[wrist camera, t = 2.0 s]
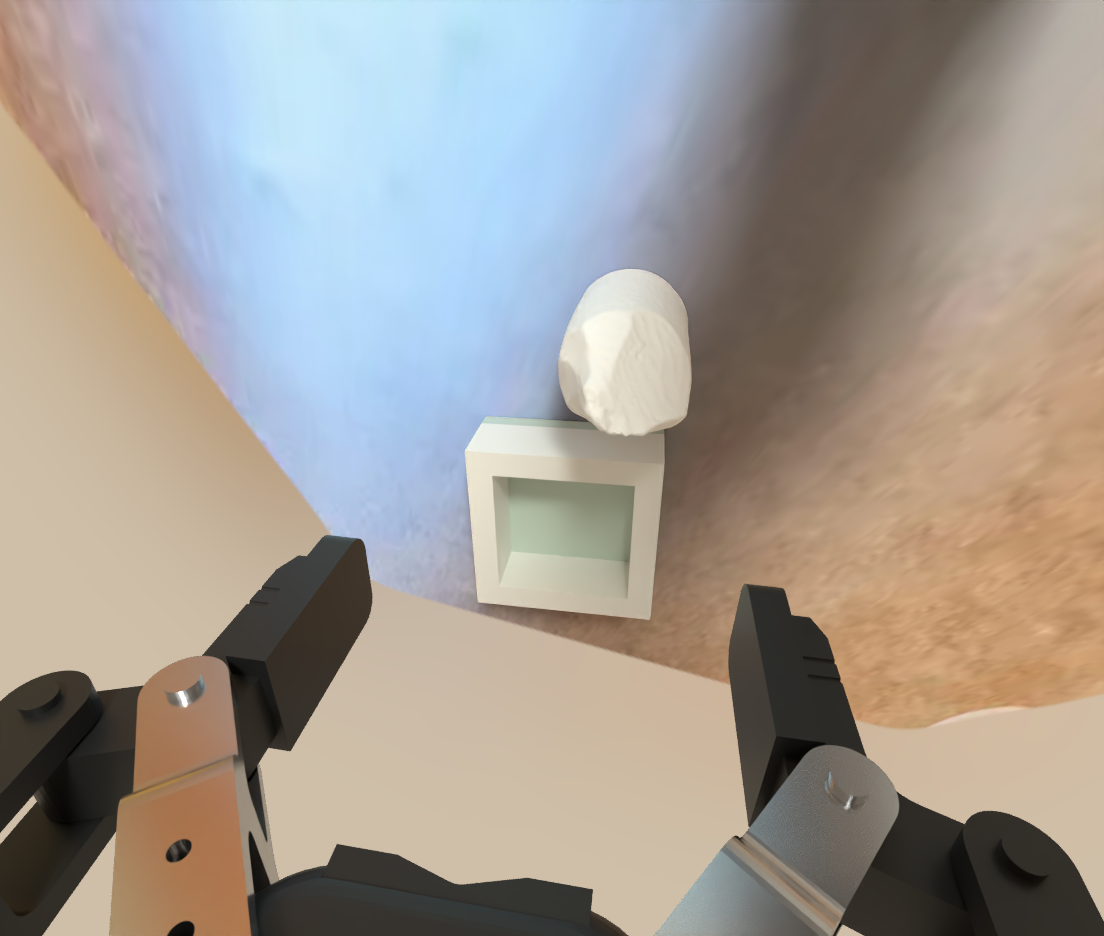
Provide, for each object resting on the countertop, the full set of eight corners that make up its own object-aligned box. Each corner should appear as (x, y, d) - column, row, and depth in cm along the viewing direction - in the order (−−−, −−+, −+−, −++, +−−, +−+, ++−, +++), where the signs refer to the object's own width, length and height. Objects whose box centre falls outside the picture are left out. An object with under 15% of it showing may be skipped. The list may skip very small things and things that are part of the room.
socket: (664, 426, 35) (664, 464, 31) (651, 571, 40) (650, 619, 36) (485, 416, 36) (464, 450, 33) (495, 557, 41) (477, 602, 38)
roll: (735, 404, 21) (638, 512, 24) (710, 311, 32) (645, 394, 34) (590, 306, 20) (507, 430, 23) (614, 244, 31) (555, 335, 33)
